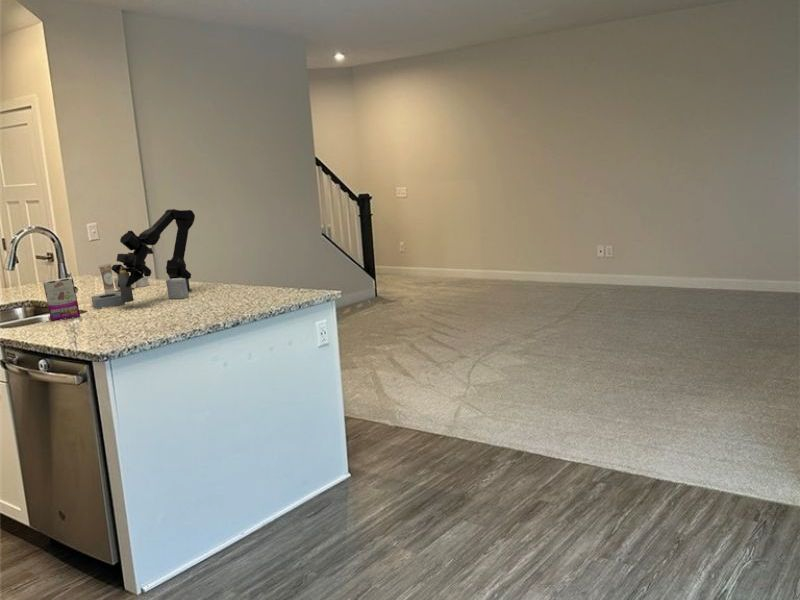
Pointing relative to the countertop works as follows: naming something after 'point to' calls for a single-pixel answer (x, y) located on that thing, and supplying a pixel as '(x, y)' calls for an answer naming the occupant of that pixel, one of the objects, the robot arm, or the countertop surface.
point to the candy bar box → (61, 298)
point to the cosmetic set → (108, 279)
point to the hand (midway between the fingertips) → (122, 286)
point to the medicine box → (177, 288)
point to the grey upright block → (125, 291)
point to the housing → (107, 300)
